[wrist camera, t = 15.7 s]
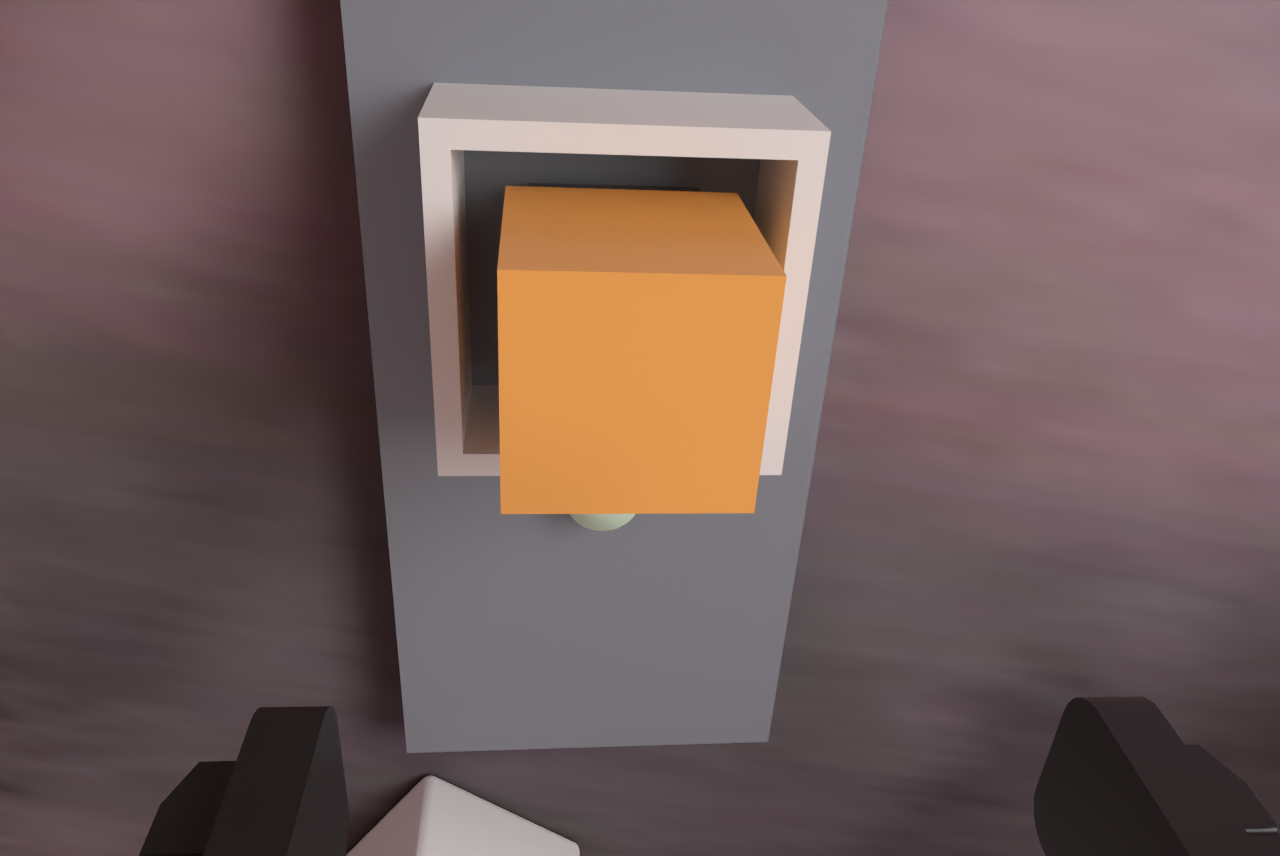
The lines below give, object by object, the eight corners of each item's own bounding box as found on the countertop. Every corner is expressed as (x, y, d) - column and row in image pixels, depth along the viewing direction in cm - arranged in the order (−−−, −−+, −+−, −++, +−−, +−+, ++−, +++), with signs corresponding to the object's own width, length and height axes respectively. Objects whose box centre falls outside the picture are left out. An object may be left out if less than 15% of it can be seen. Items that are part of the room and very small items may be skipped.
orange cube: (737, 192, 22) (786, 276, 17) (715, 396, 24) (754, 513, 20) (505, 185, 21) (496, 269, 17) (507, 394, 24) (500, 514, 19)
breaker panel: (868, -45, 24) (951, -21, 19) (756, 698, 35) (790, 829, 31) (350, -72, 22) (299, -54, 18) (413, 707, 34) (393, 844, 29)
